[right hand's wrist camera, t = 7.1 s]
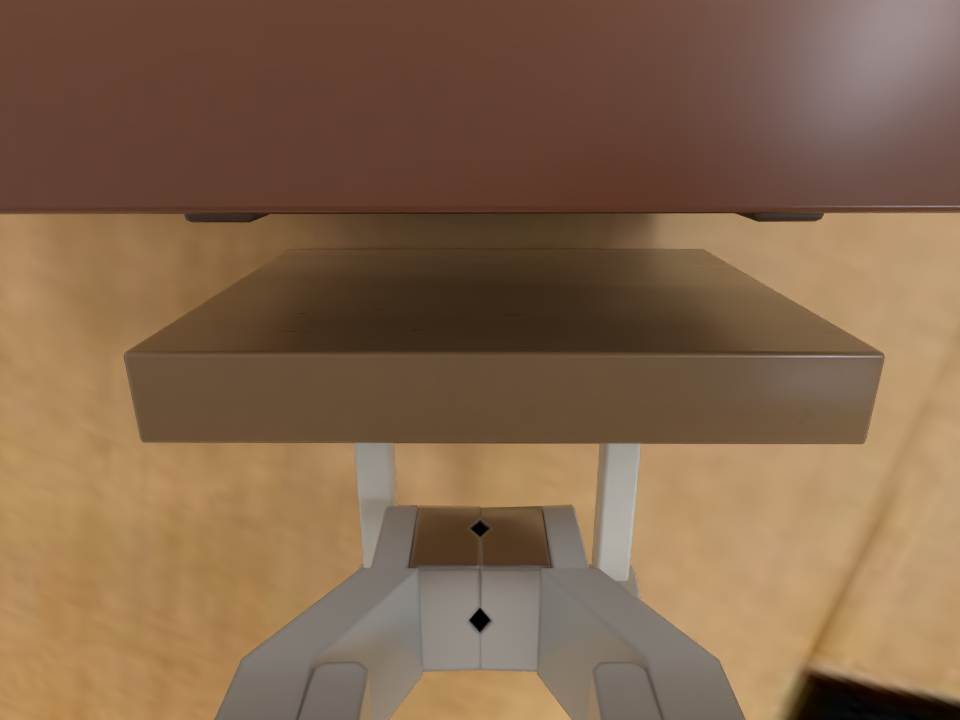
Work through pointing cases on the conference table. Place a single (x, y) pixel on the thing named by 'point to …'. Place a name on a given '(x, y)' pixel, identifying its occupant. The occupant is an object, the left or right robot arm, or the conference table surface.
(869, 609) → the conference table surface
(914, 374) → the conference table surface
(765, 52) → the cabinet
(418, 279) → the drawer
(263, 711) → the right robot arm
